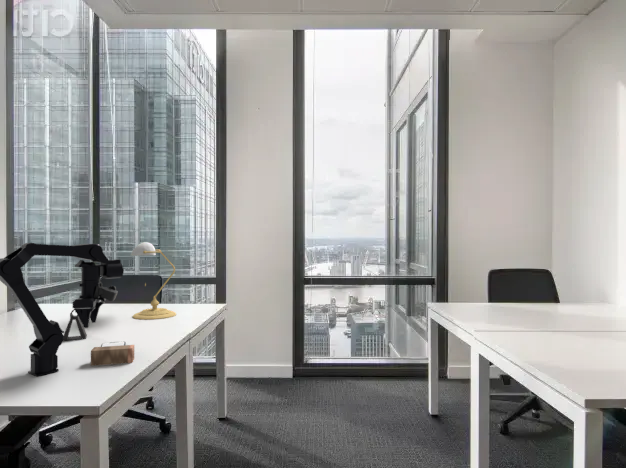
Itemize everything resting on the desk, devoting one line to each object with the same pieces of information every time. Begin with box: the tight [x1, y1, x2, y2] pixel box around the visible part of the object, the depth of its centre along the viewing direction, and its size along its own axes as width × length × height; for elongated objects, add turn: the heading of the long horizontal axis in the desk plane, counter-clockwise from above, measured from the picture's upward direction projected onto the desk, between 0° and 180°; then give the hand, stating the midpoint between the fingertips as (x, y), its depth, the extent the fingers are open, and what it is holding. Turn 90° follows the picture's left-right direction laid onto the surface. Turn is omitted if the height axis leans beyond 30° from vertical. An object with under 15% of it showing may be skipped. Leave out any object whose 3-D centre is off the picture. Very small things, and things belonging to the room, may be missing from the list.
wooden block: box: [90, 344, 135, 367], centre depth 149 cm, size 5×5×13 cm
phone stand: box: [63, 309, 88, 342], centre depth 183 cm, size 9×6×12 cm, turn 114°
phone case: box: [100, 341, 127, 347], centre depth 165 cm, size 9×2×16 cm
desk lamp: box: [129, 241, 177, 321], centre depth 235 cm, size 31×23×40 cm
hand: (90, 325), depth 149 cm, fingers open, 9 cm apart
